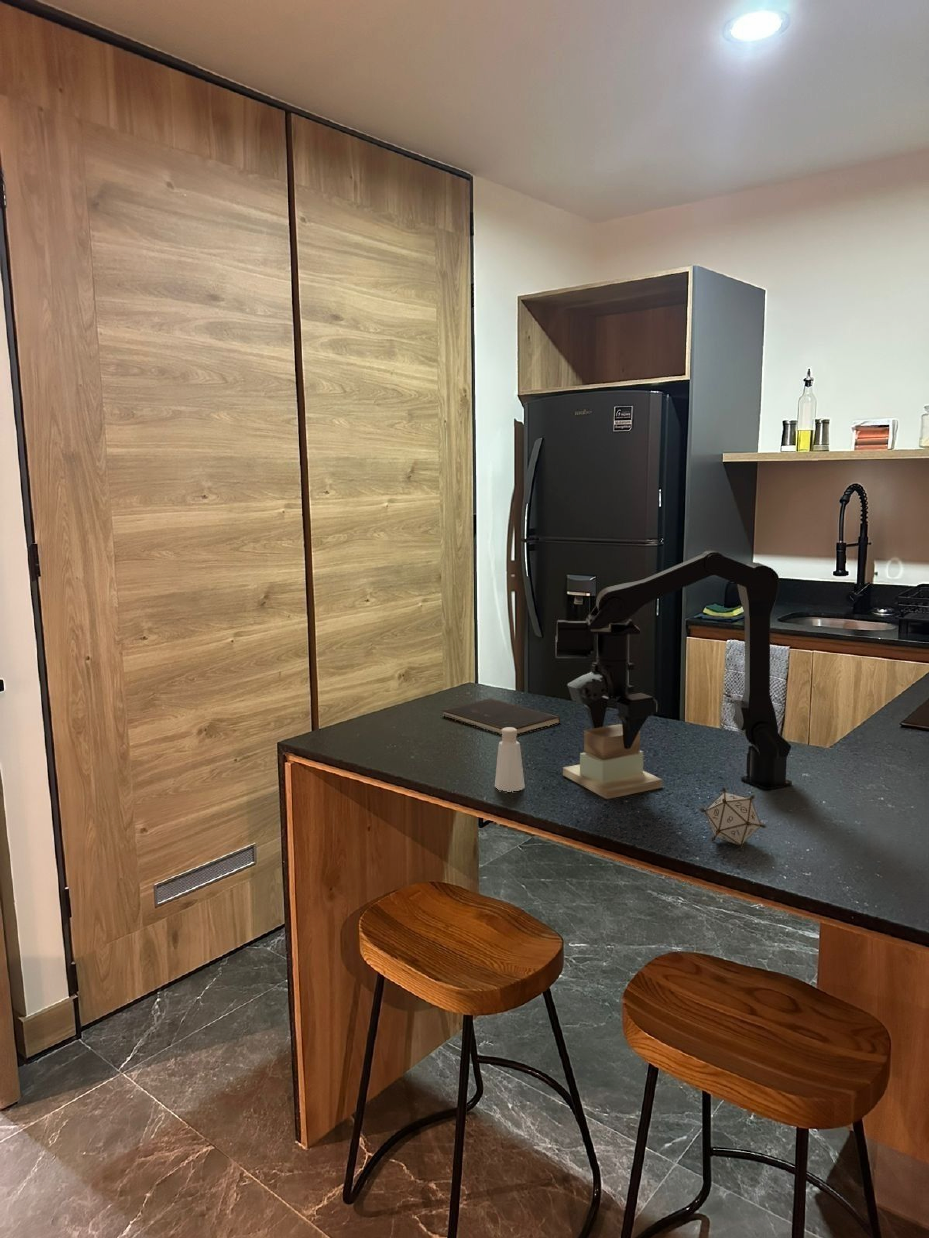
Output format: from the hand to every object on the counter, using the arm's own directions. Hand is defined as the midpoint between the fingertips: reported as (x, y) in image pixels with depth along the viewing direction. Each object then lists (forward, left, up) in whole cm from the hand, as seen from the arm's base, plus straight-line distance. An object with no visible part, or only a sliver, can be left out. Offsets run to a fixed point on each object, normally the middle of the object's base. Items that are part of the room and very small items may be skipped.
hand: (611, 741), depth 159 cm
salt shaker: (+6, +18, -8) cm, 20 cm away
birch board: (0, 0, -8) cm, 8 cm away
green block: (0, 0, -6) cm, 6 cm away
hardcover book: (+46, -2, -8) cm, 47 cm away
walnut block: (0, 0, -2) cm, 2 cm away
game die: (-31, 0, -8) cm, 32 cm away
